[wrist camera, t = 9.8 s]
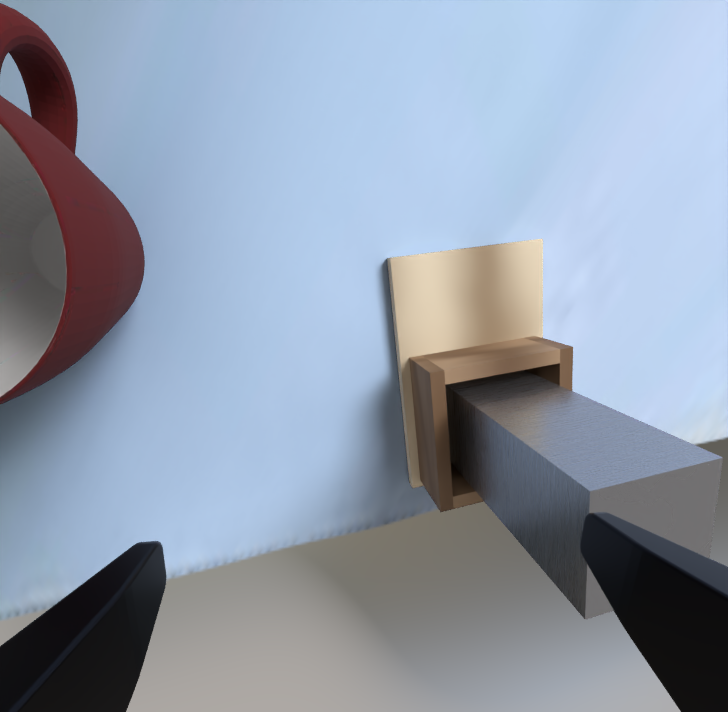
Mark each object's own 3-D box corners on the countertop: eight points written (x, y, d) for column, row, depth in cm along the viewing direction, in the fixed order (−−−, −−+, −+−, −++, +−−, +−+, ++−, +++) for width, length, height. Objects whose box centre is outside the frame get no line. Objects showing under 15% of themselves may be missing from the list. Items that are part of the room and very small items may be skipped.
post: (442, 452, 22) (584, 619, 12) (437, 378, 21) (590, 491, 11) (513, 436, 23) (706, 581, 13) (512, 364, 22) (723, 457, 12)
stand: (409, 482, 23) (432, 521, 20) (387, 258, 20) (409, 257, 16) (536, 453, 24) (578, 484, 21) (535, 239, 21) (585, 235, 18)
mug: (-48, 65, 15) (-646, -295, 5) (182, 105, 16) (51, -107, 7) (-16, 339, 17) (-392, 437, 7) (183, 348, 19) (84, 438, 9)
